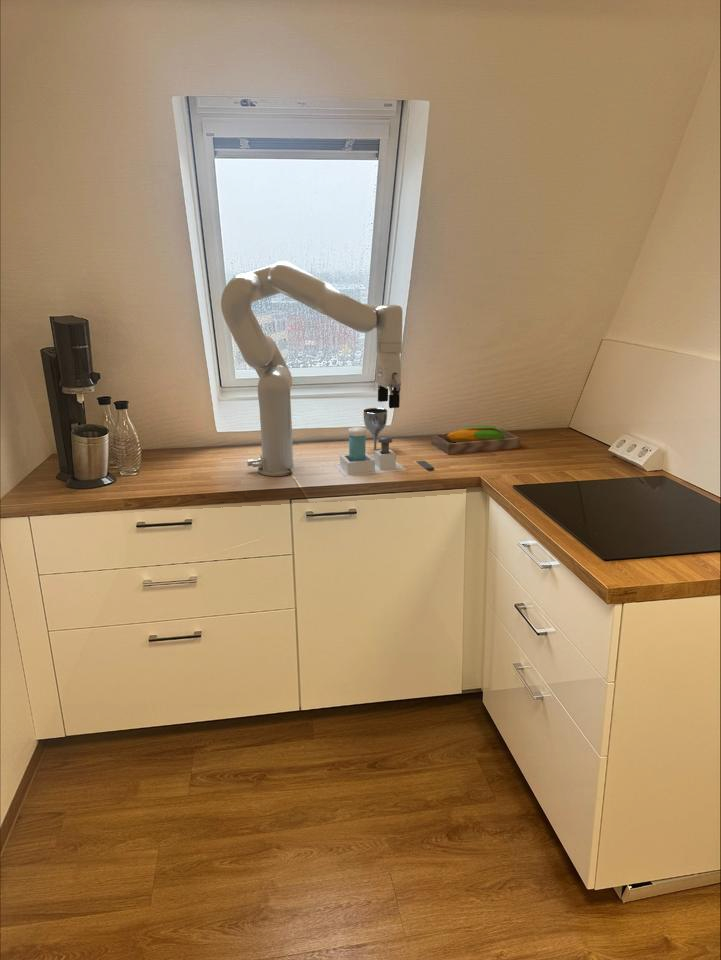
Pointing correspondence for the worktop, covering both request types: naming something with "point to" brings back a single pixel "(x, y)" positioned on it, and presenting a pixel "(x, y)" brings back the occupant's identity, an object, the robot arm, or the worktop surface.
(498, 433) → the corn
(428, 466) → the mat
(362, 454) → the cylinder
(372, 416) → the wine glass
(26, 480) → the worktop surface
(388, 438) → the plunger
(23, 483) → the worktop surface
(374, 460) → the housing
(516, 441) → the brown rectangular tray
